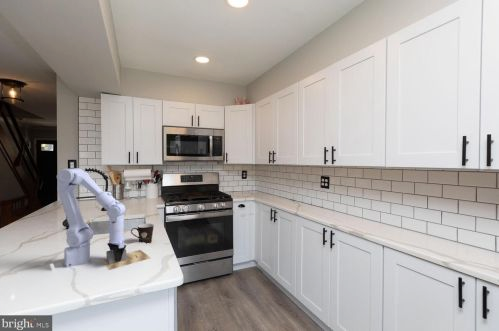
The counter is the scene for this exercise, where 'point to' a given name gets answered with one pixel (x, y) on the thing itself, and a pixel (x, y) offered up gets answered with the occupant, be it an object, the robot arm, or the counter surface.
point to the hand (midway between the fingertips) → (116, 259)
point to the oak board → (128, 259)
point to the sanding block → (111, 258)
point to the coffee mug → (145, 232)
